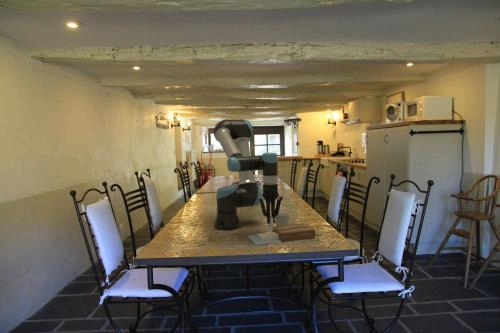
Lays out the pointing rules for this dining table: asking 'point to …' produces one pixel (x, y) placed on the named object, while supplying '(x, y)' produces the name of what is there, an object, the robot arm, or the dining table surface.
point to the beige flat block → (268, 236)
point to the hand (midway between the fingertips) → (270, 229)
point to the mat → (259, 242)
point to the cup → (282, 218)
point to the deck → (294, 232)
